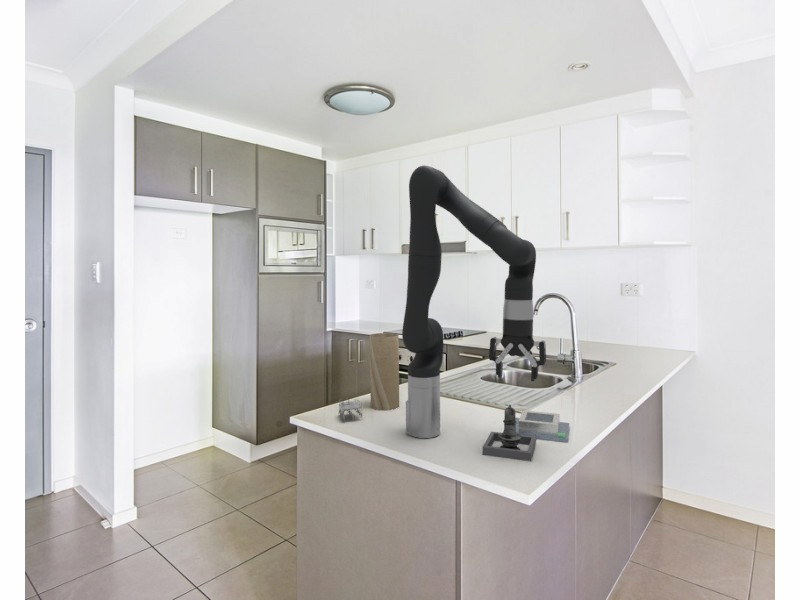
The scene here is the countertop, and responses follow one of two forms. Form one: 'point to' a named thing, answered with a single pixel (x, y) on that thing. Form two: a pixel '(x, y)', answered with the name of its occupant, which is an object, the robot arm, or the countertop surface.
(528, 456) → the dark grey square frame
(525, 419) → the port panel
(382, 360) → the tube
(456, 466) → the countertop surface
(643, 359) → the countertop surface
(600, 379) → the countertop surface
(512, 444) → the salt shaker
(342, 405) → the building frame
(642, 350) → the countertop surface
